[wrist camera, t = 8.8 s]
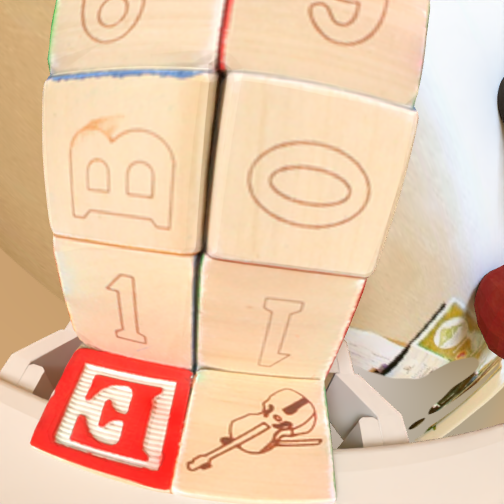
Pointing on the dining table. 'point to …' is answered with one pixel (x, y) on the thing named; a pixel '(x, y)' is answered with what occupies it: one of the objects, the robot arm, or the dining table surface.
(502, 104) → the pen holder
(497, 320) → the apple
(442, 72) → the dining table surface
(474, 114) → the dining table surface
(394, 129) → the stack of blocks
